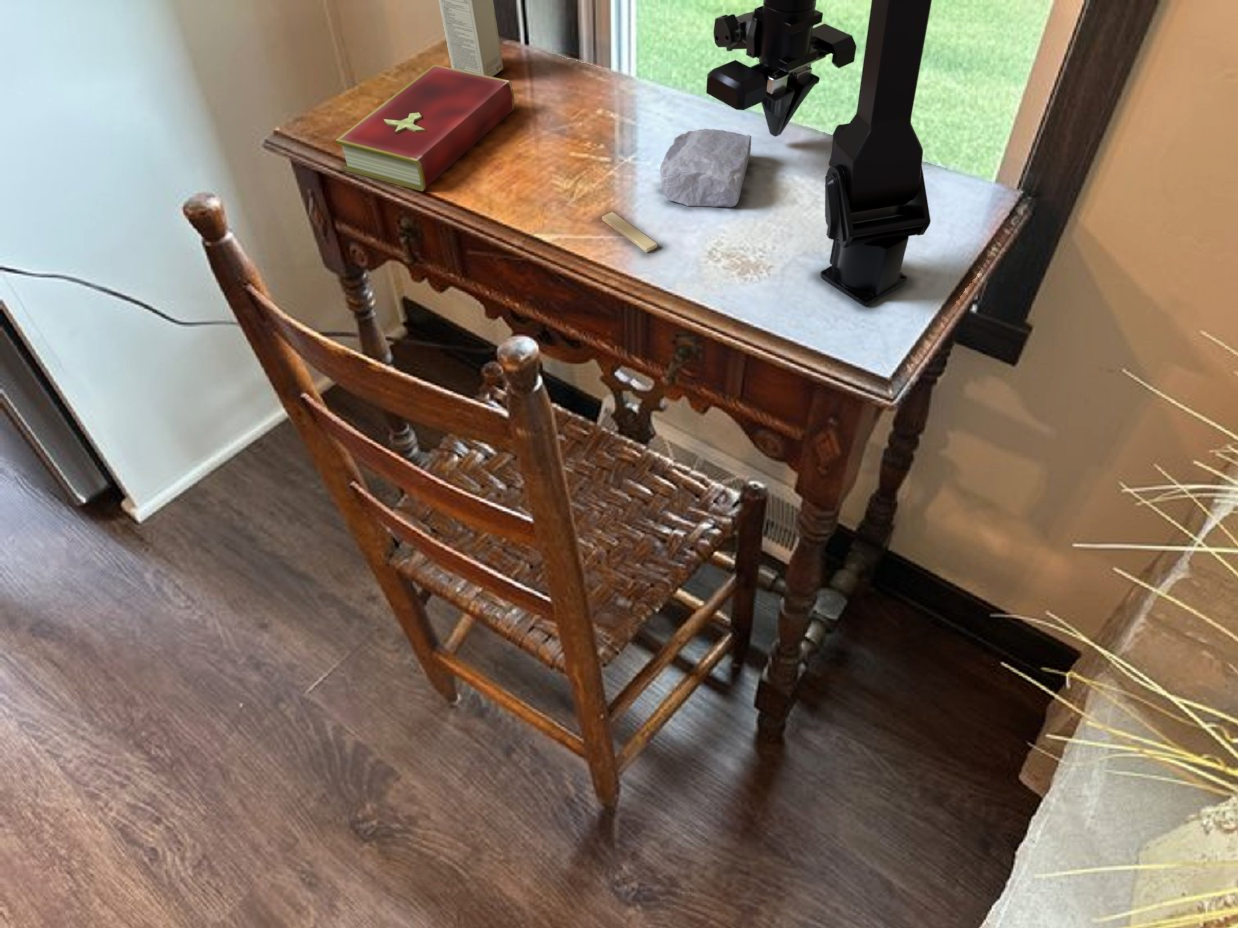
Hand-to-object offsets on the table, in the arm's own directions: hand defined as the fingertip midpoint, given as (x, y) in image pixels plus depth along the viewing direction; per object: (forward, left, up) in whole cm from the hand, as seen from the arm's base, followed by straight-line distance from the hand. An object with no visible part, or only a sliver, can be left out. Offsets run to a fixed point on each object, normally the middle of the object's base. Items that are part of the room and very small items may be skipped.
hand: (775, 134), depth 111 cm
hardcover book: (+29, +31, -2) cm, 43 cm away
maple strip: (-3, +25, -2) cm, 25 cm away
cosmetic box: (+41, +17, -2) cm, 45 cm away
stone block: (0, +11, -2) cm, 12 cm away
